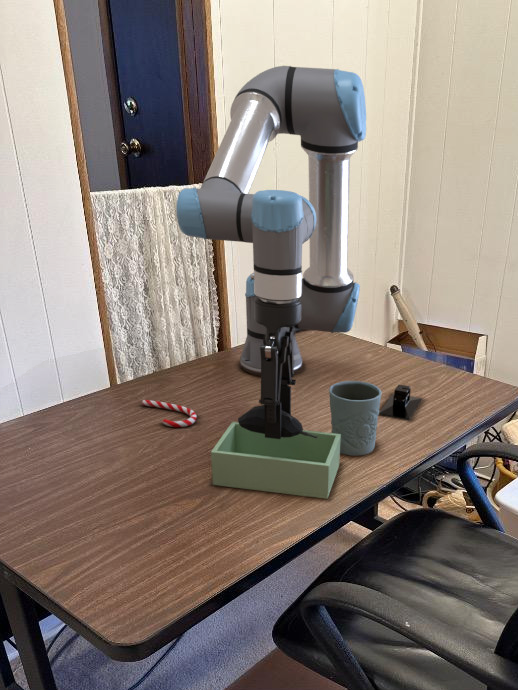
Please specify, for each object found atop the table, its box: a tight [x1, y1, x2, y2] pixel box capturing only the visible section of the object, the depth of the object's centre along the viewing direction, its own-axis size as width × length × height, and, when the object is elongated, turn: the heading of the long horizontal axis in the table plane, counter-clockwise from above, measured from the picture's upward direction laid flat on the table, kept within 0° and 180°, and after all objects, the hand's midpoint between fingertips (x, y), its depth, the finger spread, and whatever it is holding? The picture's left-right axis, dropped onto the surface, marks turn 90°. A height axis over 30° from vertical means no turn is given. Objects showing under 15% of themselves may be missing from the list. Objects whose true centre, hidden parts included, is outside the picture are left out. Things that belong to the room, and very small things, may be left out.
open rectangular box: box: [210, 421, 341, 500], centre depth 125 cm, size 13×21×7 cm, turn 83°
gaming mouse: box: [237, 404, 317, 438], centre depth 121 cm, size 6×15×4 cm, turn 71°
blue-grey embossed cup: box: [328, 380, 383, 457], centre depth 136 cm, size 10×10×12 cm
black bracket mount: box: [378, 384, 423, 421], centre depth 156 cm, size 12×7×5 cm, turn 164°
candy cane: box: [141, 399, 198, 428], centre depth 144 cm, size 8×1×15 cm
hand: (278, 428), depth 122 cm, fingers closed on gaming mouse, 7 cm apart
